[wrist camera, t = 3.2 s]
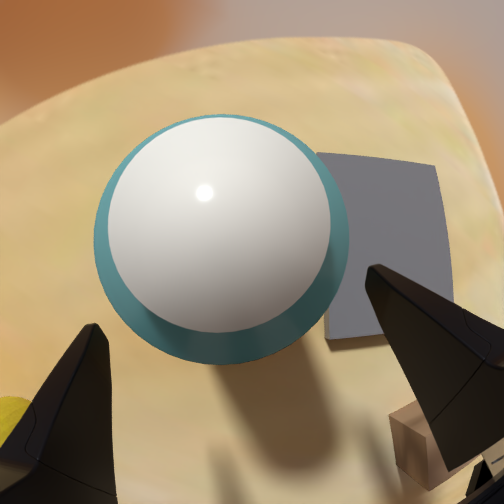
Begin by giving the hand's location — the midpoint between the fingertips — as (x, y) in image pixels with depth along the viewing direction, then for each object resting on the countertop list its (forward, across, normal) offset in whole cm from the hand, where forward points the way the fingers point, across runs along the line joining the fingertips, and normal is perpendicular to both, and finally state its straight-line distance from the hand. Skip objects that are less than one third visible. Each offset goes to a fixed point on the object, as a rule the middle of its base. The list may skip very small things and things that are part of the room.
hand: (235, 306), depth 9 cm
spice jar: (+8, 0, +5) cm, 9 cm away
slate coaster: (+8, -11, +5) cm, 15 cm away
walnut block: (-2, -11, +15) cm, 19 cm away
